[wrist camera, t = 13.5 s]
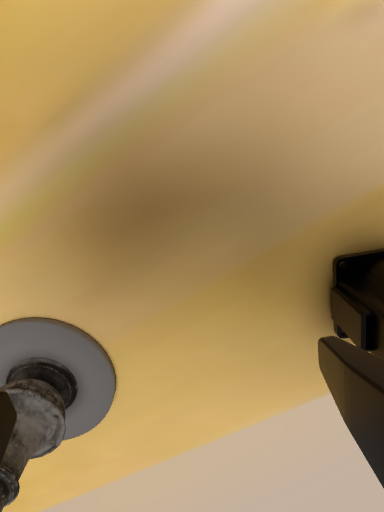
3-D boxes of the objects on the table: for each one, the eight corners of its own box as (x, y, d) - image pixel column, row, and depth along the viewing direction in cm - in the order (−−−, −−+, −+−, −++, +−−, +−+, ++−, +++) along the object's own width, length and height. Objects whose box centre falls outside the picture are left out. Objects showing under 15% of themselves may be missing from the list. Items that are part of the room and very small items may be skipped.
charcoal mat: (94, 306, 22) (91, 311, 22) (129, 421, 26) (128, 429, 25) (-53, 331, 23) (-60, 337, 22) (2, 442, 26) (-3, 450, 25)
